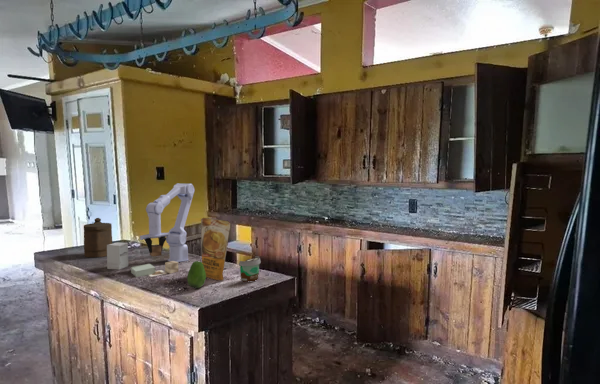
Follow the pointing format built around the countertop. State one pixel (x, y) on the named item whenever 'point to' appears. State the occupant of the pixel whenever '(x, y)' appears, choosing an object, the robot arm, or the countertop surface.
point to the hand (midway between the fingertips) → (155, 251)
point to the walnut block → (156, 250)
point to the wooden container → (97, 238)
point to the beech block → (171, 267)
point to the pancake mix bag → (214, 246)
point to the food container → (249, 269)
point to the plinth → (143, 270)
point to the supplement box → (117, 255)
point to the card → (158, 273)
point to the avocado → (196, 275)
